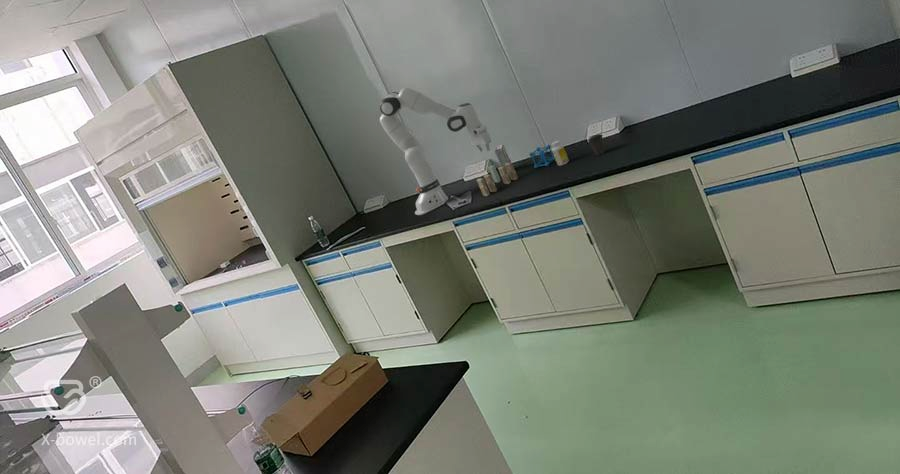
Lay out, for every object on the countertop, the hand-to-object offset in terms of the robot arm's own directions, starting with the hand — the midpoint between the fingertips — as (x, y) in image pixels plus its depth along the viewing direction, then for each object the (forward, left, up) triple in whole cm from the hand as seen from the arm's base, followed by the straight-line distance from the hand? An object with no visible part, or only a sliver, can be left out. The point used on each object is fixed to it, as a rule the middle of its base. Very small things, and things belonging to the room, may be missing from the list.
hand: (484, 151), depth 375 cm
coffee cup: (+36, -56, -20) cm, 69 cm away
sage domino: (0, 0, -20) cm, 20 cm away
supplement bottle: (+24, -37, -20) cm, 48 cm away
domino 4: (+4, -14, -20) cm, 25 cm away
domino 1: (-16, -14, -20) cm, 29 cm away
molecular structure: (+23, -20, -20) cm, 36 cm away
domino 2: (-11, -14, -20) cm, 27 cm away
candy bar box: (+13, +7, -20) cm, 25 cm away
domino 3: (-1, -14, -20) cm, 24 cm away
